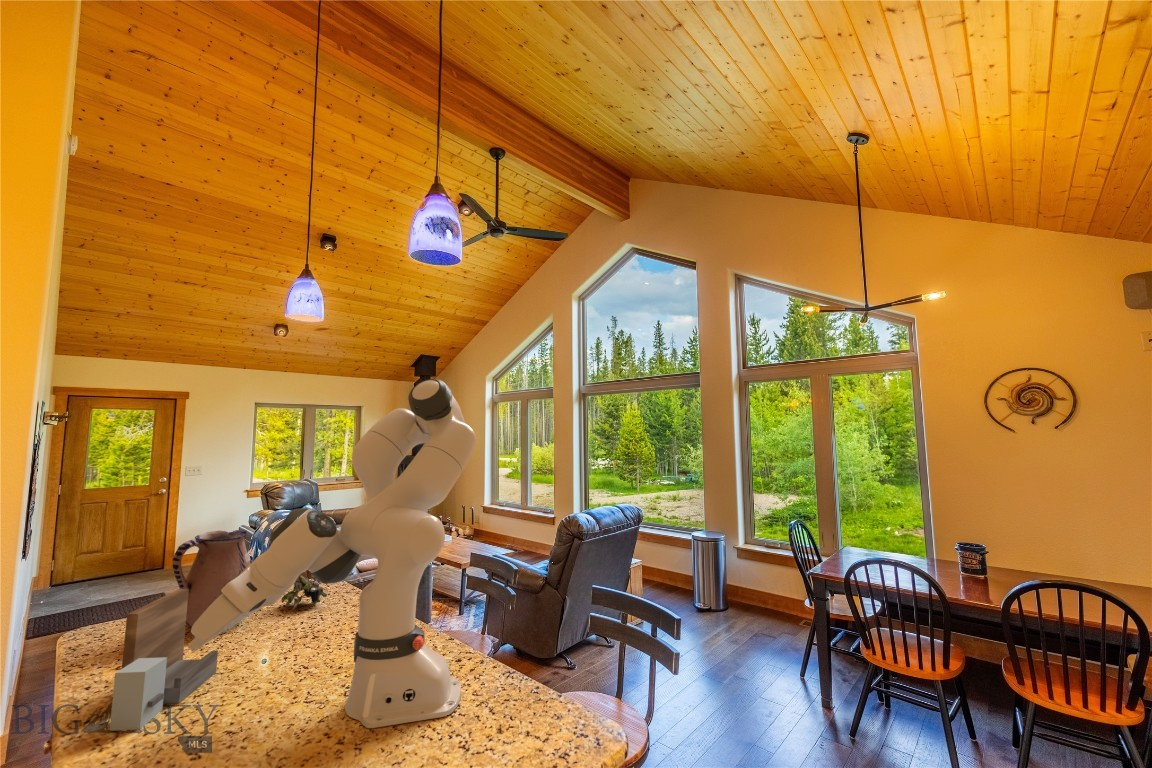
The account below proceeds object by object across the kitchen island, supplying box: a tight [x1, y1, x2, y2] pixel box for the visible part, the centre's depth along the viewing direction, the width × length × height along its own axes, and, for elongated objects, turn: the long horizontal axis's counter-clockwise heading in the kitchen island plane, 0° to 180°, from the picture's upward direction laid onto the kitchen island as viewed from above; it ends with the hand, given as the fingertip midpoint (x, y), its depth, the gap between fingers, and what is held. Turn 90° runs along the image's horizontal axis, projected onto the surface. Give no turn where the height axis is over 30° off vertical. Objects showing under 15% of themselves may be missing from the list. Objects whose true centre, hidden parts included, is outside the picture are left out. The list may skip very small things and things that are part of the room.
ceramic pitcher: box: [172, 529, 252, 629], centre depth 140 cm, size 18×21×25 cm
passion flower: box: [280, 574, 328, 612], centre depth 156 cm, size 11×11×12 cm
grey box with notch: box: [109, 657, 167, 732], centre depth 95 cm, size 6×6×10 cm
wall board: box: [121, 588, 219, 705], centre depth 107 cm, size 10×16×18 cm, turn 8°
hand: (209, 638), depth 98 cm, fingers open, 8 cm apart
